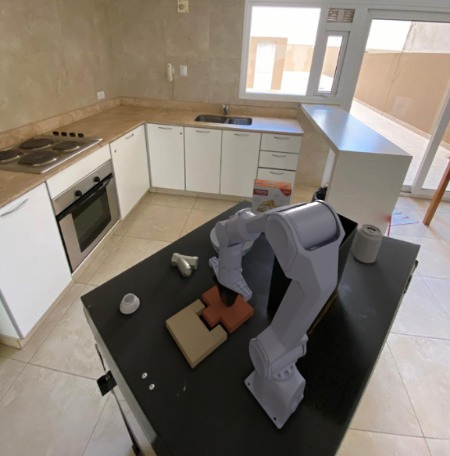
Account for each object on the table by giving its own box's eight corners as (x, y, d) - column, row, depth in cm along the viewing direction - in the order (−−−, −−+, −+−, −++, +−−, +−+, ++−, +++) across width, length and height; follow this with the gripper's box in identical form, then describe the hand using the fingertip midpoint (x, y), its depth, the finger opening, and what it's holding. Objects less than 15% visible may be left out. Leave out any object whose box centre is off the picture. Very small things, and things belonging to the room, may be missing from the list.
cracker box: (248, 232, 100) (253, 185, 92) (249, 223, 105) (254, 178, 98) (284, 237, 98) (292, 189, 90) (284, 227, 103) (291, 182, 96)
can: (375, 254, 91) (384, 227, 86) (374, 268, 85) (383, 239, 80) (352, 246, 94) (360, 219, 90) (350, 258, 88) (358, 230, 84)
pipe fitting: (192, 281, 77) (198, 263, 83) (191, 272, 76) (198, 255, 82) (167, 276, 79) (175, 259, 85) (166, 267, 77) (174, 250, 83)
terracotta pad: (253, 314, 67) (254, 299, 65) (221, 341, 60) (222, 325, 58) (224, 284, 75) (224, 270, 73) (193, 305, 69) (193, 290, 67)
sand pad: (226, 339, 62) (227, 333, 61) (192, 368, 55) (192, 363, 55) (198, 303, 70) (198, 298, 69) (166, 326, 64) (165, 320, 63)
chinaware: (247, 275, 80) (249, 256, 77) (203, 262, 84) (203, 244, 81) (256, 244, 93) (258, 227, 90) (218, 235, 97) (218, 218, 94)
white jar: (119, 301, 70) (120, 317, 65) (118, 294, 68) (119, 309, 64) (138, 295, 72) (140, 310, 67) (137, 287, 71) (140, 302, 66)
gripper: (262, 271, 60) (257, 311, 65) (223, 239, 70) (221, 275, 75) (241, 287, 56) (237, 328, 61) (202, 250, 66) (202, 288, 71)
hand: (227, 300), depth 68 cm, fingers closed on terracotta pad, 2 cm apart
